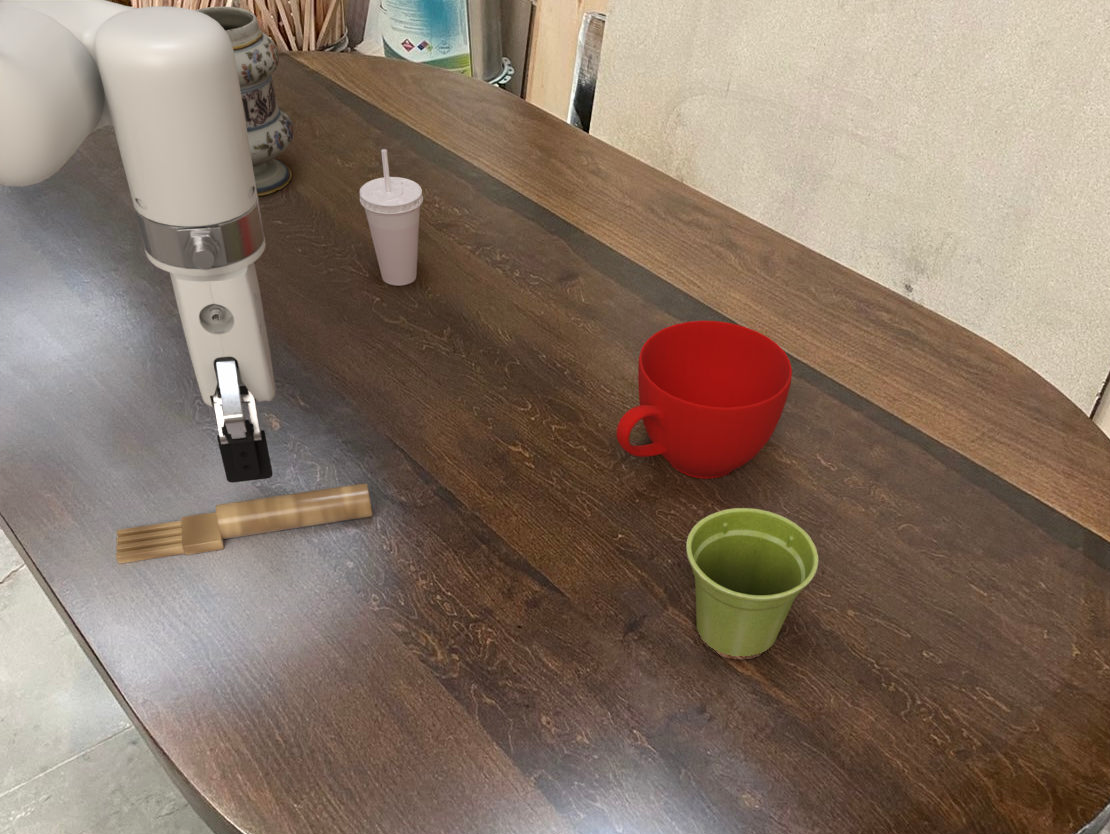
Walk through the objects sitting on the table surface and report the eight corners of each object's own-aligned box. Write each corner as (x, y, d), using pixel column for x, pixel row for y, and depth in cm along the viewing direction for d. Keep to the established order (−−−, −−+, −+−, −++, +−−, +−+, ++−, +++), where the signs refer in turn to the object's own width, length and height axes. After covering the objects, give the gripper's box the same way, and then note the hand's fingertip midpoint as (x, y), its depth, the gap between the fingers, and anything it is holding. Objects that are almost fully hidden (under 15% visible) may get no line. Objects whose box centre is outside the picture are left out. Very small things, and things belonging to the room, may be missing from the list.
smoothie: (358, 285, 114) (342, 155, 104) (384, 257, 118) (371, 129, 108) (414, 297, 113) (402, 167, 103) (438, 268, 117) (429, 140, 107)
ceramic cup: (567, 462, 95) (570, 368, 88) (704, 395, 103) (717, 304, 96) (665, 542, 89) (677, 448, 82) (803, 464, 97) (825, 371, 89)
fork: (368, 498, 91) (364, 472, 89) (374, 526, 89) (370, 501, 86) (119, 535, 86) (109, 509, 84) (118, 565, 84) (108, 539, 82)
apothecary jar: (214, 153, 133) (179, -5, 120) (310, 159, 133) (286, 2, 120) (184, 199, 125) (144, 34, 112) (287, 205, 125) (258, 41, 112)
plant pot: (668, 588, 85) (679, 507, 79) (784, 586, 86) (804, 506, 80) (682, 680, 79) (695, 599, 72) (807, 677, 80) (831, 597, 73)
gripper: (272, 292, 64) (308, 505, 77) (253, 162, 75) (286, 367, 88) (140, 303, 62) (198, 519, 75) (140, 168, 73) (190, 376, 86)
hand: (246, 437), depth 81 cm, fingers open, 9 cm apart
